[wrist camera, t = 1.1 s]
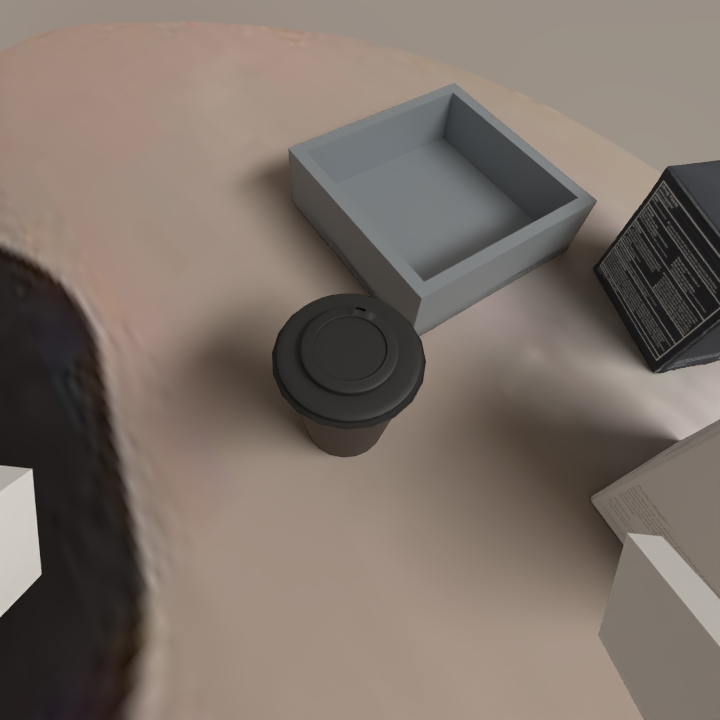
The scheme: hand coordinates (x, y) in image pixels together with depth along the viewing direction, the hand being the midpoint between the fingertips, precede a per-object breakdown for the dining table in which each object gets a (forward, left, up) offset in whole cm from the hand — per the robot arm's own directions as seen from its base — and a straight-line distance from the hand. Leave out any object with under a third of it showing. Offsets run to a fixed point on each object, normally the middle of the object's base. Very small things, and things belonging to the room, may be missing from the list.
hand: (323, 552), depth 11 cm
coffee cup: (-9, +7, -20) cm, 23 cm away
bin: (-20, +23, -20) cm, 36 cm away
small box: (-3, +33, -20) cm, 39 cm away
